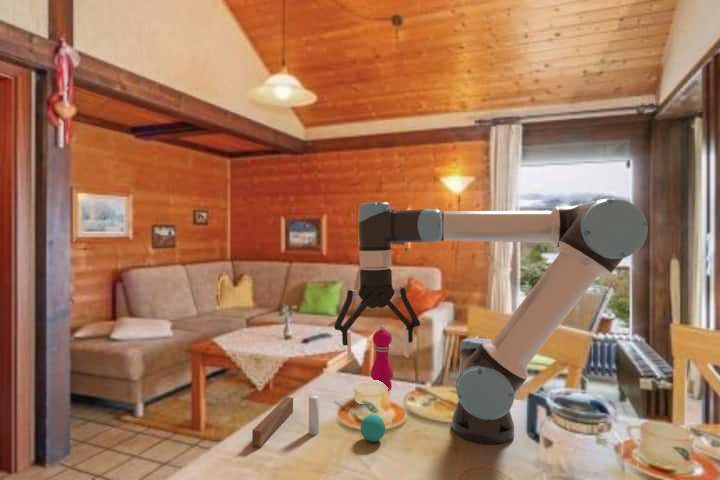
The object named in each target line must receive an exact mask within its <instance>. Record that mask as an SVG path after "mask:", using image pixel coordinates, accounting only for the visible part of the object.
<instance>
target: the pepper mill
mask: <svg viewBox="0 0 720 480" xmlns="http://www.w3.org/2000/svg"><path fill="white" fill-rule="evenodd" d="M392 340H393V337H392V334H391V332H390V331H389V330H386V327H385V325H382V324H381V325H380V326H379V330H376V331H375V332H374V333H373V335H372V341H373V343H374V351H375V358H374V359H375V360H374V362H373V364H372V367H371V370H370V377H371V379H372V381H373V380H379V381H381V382H383V383H384V384H385V385H386V386H387V387H388V388H389V390H388V391H390V390H391V389H392V388H393V386H392V385H393V384H392V383H393V382H392V381H391V380H392V379H393V378H394V370H393V367H392V364H391V363H390V362H391V361H390V359H389V358H390V357H389V351H390V350H391V345H390V344H391V343H392Z"/></svg>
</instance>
